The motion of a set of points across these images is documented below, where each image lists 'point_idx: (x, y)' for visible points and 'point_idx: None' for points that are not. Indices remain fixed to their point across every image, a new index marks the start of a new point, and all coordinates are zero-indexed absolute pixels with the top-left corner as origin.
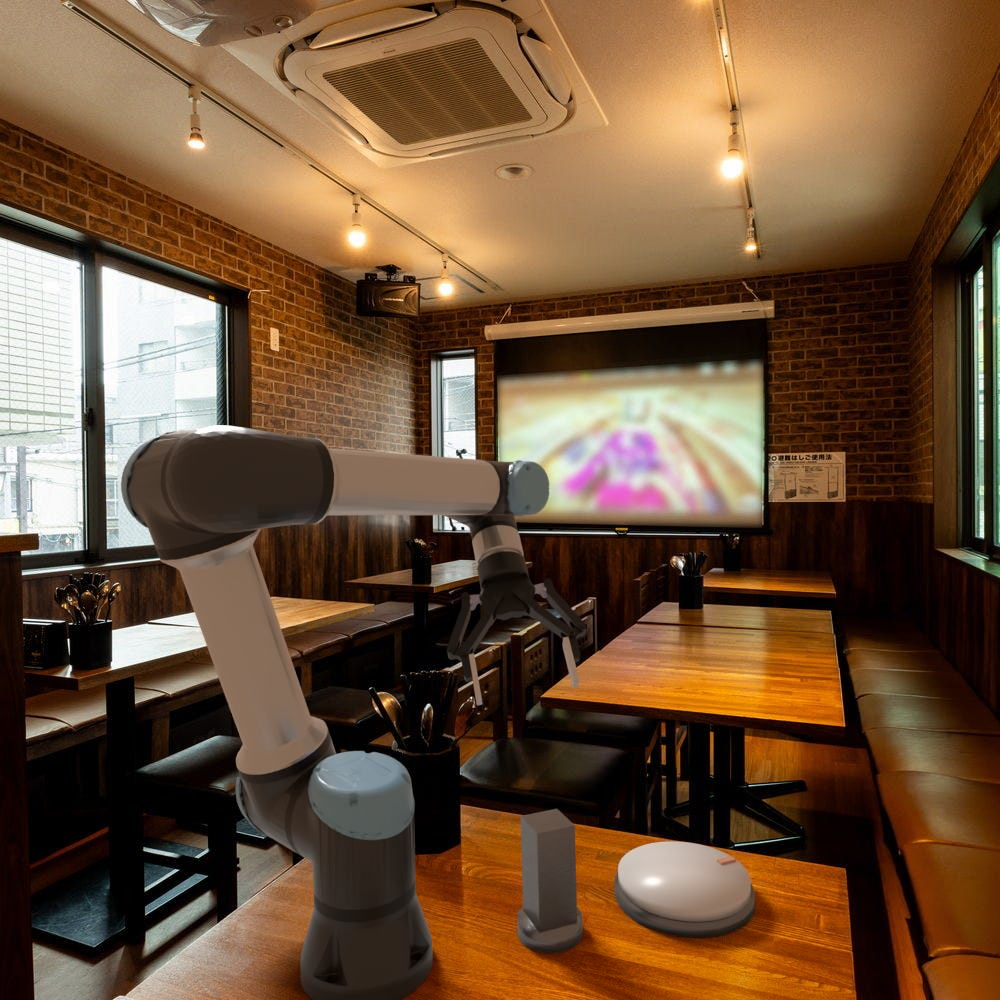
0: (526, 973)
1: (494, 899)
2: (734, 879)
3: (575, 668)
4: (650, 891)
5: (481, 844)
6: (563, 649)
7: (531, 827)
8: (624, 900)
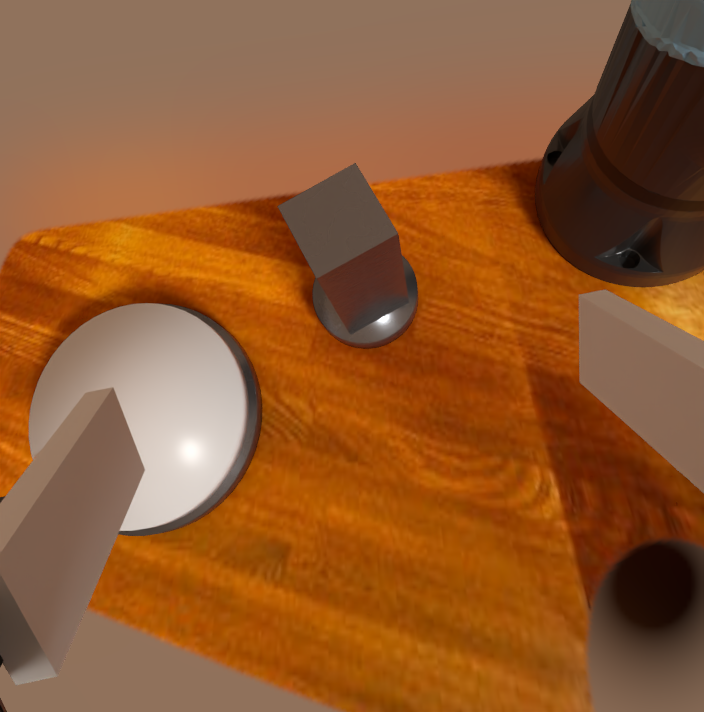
0: (396, 212)
1: (471, 387)
2: (56, 396)
3: (66, 424)
4: (195, 346)
5: (538, 601)
6: (67, 635)
7: (369, 186)
8: (244, 360)
